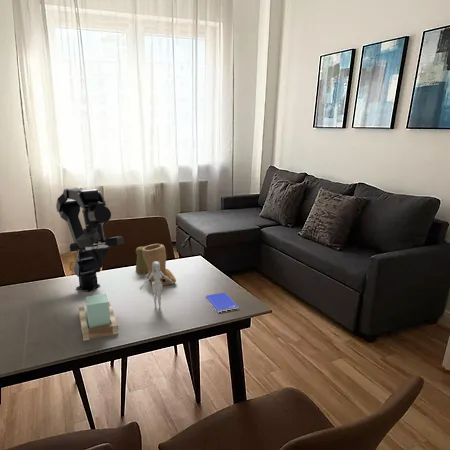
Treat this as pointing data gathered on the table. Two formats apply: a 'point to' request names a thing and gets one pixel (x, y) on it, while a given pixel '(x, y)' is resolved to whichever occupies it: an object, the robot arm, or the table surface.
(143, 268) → the cork
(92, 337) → the chute
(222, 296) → the hard drive
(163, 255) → the tan hollow piece
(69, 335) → the table surface
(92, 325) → the sage block
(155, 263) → the human figurine
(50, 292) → the table surface
